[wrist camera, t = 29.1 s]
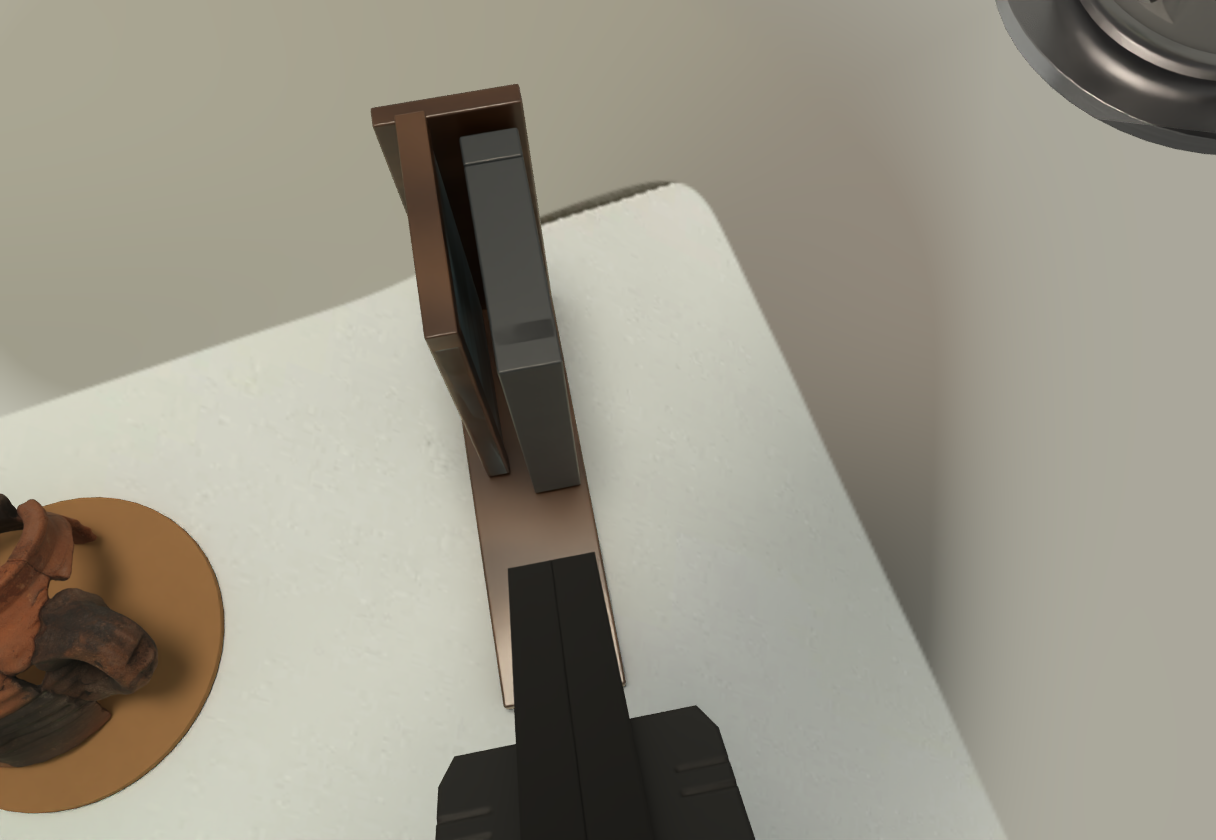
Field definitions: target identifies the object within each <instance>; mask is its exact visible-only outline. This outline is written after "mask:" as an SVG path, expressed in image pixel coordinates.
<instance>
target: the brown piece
mask: <svg viewBox="0 0 1216 840" xmlns="http://www.w3.org/2000/svg"><path fill="white" fill-rule="evenodd" d="M371 117H372V124H373V128H374V131H375V133H376V136H377V139H378V141H379V144H380V147H381V149H382V152H383V154H384V157H385V159H386V162H387V165H388V167H389V170H390V172H391V175H392V177H393V180H394V183H395V185H396V188H397V190H398V193H399V195H400V198H401V201H402V203H403V205H404V208H405V211H406V213H407V216H408V221H409V228H410V236H411V243H412V250H413V258H414V265H415V272H416V280H417V287H418V294H419V302H420V309H421V316H422V323H423V331H424V338H425V340H426V342H427V345H428V347H429V349H430V351H431V353H432V355H433V357H434V360H435V362H436V364H437V366H438V368H439V371H440V373H441V375H442V377H443V379H444V382H445V384H446V386H447V388H448V390H449V392H450V395H451V397H452V399H453V401H454V403H455V406H456V408H457V410H458V412H459V414H460V416H461V419H462V426H463V433H464V439H465V446H466V453H467V460H468V467H469V473H470V480H471V487H472V494H473V501H474V507H475V514H476V521H477V528H478V535H479V541H480V548H481V555H482V562H483V569H484V575H485V582H486V589H487V596H488V603H489V609H490V616H491V623H492V630H493V636H494V643H495V650H496V657H497V664H498V670H499V677H500V684H501V691H502V698H503V704H504V707H505V708H506V709H509V710H510V709H514V692H513V671H512V650H511V629H510V608H509V587H508V568H512V567H518V566H523V565H528V564H533V563H538V562H543V561H549V560H554V559H559V558H564V557H569V556H575V555H580V554H585V553H590V552H595V555H596V560H597V564H598V569H599V574H600V579H601V584H602V588H603V593H604V598H605V603H606V608H607V612H608V617H609V622H610V627H611V632H612V636H613V641H614V646H615V651H616V656H617V661H618V665H619V670H620V675H621V680H622V685H623V687H624V686H625V685H626V680H625V675H624V669H623V664H622V659H621V654H620V649H619V643H618V638H617V633H616V628H615V623H614V617H613V612H612V607H611V602H610V597H609V591H608V586H607V581H606V576H605V571H604V566H603V560H602V555H601V550H600V545H599V540H598V534H597V529H596V524H595V519H594V514H593V508H592V503H591V498H590V493H589V488H588V482H587V477H586V472H585V467H584V462H583V457H582V451H581V446H580V441H579V436H578V431H577V425H576V420H575V415H574V410H573V405H572V399H571V394H570V389H569V384H568V379H567V373H566V368H565V363H564V358H563V353H562V348H561V342H560V337H559V332H558V327H557V322H556V316H555V311H554V306H553V301H552V295H551V289H550V282H549V275H548V269H547V262H546V256H545V249H544V242H543V236H542V229H541V222H540V216H539V209H538V203H537V196H536V190H535V183H534V176H533V170H532V163H531V156H530V150H529V144H528V137H527V130H526V123H525V117H524V110H523V103H522V98H521V93H520V88H519V85H518V84H513V85H507V86H501V87H495V88H489V89H483V90H477V91H471V92H465V93H459V94H453V95H447V96H441V97H435V98H429V99H423V100H417V101H411V102H405V103H399V104H393V105H387V106H381V107H375V108H371ZM509 128H517V129H518V131H519V137H520V142H521V147H522V152H523V158H524V163H525V168H526V173H527V178H528V184H529V189H530V194H531V199H532V204H533V210H534V215H535V220H536V225H537V230H538V236H539V241H540V246H541V251H542V256H543V262H544V267H545V272H546V277H547V282H548V288H549V293H550V298H551V303H552V308H553V314H554V319H555V324H556V329H557V334H558V340H559V345H560V350H561V355H562V360H563V367H564V374H565V381H566V387H567V394H568V401H569V408H570V414H571V421H572V428H573V434H574V441H575V448H576V455H577V461H578V468H579V475H580V482H581V484H580V485H575V486H570V487H565V488H560V489H554V490H549V491H544V492H538V493H536V492H535V490H534V487H533V484H532V481H531V478H530V474H529V471H528V468H527V465H526V462H525V459H524V455H523V452H522V449H521V446H520V443H519V440H518V436H517V433H516V430H515V427H514V424H513V421H512V417H511V414H510V411H509V408H508V405H507V402H506V398H505V395H504V392H503V389H502V386H501V383H500V379H499V376H498V373H497V367H496V361H495V355H494V349H493V343H492V337H491V331H490V325H489V318H488V312H487V306H486V300H485V294H484V288H483V282H482V276H481V270H480V264H479V258H478V252H477V246H476V240H475V233H474V227H473V221H472V215H471V209H470V203H469V197H468V191H467V185H466V179H465V173H464V166H463V161H462V154H461V148H460V142H459V139H460V137H462V136H468V135H473V134H479V133H485V132H491V131H497V130H503V129H509Z"/></svg>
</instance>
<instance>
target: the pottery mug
mask: <svg viewBox="0 0 1216 840" xmlns="http://www.w3.org/2000/svg"><path fill="white" fill-rule="evenodd" d="M17 530H23V532H22V534H21V537H20V540H19V542H18V543H17V545H16V546H15V548H14V550H13V551H12V553H11V555H10V556H9V558H8V560H7V562H6V563H5V564H3V565H2V566H1V567H0V767H9V768H10V767H24V766H29V765H33V764H37V763H43V762H45V761H48V760H50V759H52V758H54V757H56V756H58V755H61V754H63V753H66V752H68V751H69V750H71V749H73V748H75V747H77V746H78V745H80V744H81V743H82V742H84V741H85V740H86V739H87V738H88V737H89V736H91V735H92V734H94V733H95V732H96V731H97V730H98V729H99V728H100V727H101V726H103V725H104V724H105V723H106V722H107V721H108V720H109V719H110V717H111V713H110V712H109V711H108V710H107V709H105V708H103V707H102V706H101V704H100V703H98V702H97V701H99V700H102V699H106V698H108V697H110V696H111V695H117V694H123V695H128V694H132V693H134V692H136V691H137V690H138V689H140V688H142V687H143V686H145V685H147V684H148V683H149V681H150V680H151V678H152V675H153V673H154V671H155V669H156V668H157V666H158V649H157V646H156V644H155V642H154V640H153V639H152V638H151V636H150V635H149V634H148V633H147V632H146V631H145V630H144V629H143V628H142V627H141V626H140V625H138V624H137V623H136V622H134V621H133V620H131V619H130V618H128V617H126V616H124V615H122V614H120V613H118V612H115V611H113V610H111V609H110V608H109V607H108V606H107V605H106V604H105V602H104V600H103V599H102V598H101V597H100V596H99V595H97V594H93V593H89V592H86V591H83V590H81V589H78V588H66V589H63V590H61V591H60V592H58V593H56V594H55V595H54V596H53V597H52V598H51V599H50V598H49V596H48V588H49V583H50V581H51V580H55V581H66V580H68V579H69V578H70V576H71V573H72V564H73V553H74V544H85V543H88V542H93V541H95V540H96V539H97V536H96V535H95V534H93V532H92V530H91V528H90V527H87V526H84V525H82V524H81V523H80V522H79V521H78V520H76V519H74V518H68V517H66V516H63V515H59V514H55V513H52V512H46V510H45V509H44V508H43V507H42V506H41V504H40V503H38V502H37V501H36V500H34V499H30V500H28V501H27V502H25V503H23V504H21V505H19V506H18V508H17V509H16V508H15V507H14V506H13V505H12V504H11V502H10V500H9V499H8V498H7V497H6V496H5V495H3V494H0V534H1V533H5V532H10V531H17ZM32 665H35V666H36V668H38V669H39V670H42V671H46V673H45V677H44V679H43V681H42V684H40V685H35V684H33V683H30V682H27V681H25V680H22V679H19V678H17V677H16V675H17V674H19V673H22V672H24V671H26V670H28V669H29V668H30V667H31V666H32Z"/></svg>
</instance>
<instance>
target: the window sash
mask: <svg viewBox="0 0 1216 840" xmlns="http://www.w3.org/2000/svg"><path fill="white" fill-rule="evenodd" d="M459 142H460V148H461V154H462V161H463V166H464V173H465V179H466V185H467V191H468V197H469V203H470V209H471V215H472V221H473V227H474V233H475V240H476V246H477V252H478V258H479V264H480V270H481V276H482V282H483V288H484V294H485V300H486V306H487V312H488V318H489V325H490V331H491V337H492V343H493V349H494V355H495V361H496V367H497V373H498V376H499V379H500V383H501V386H502V389H503V392H504V395H505V398H506V402H507V405H508V408H509V411H510V414H511V417H512V421H513V424H514V427H515V430H516V433H517V436H518V440H519V443H520V446H521V449H522V452H523V455H524V459H525V462H526V465H527V468H528V471H529V474H530V478H531V481H532V484H533V487H534V490H535V492H536V493H538V492H544V491H549V490H554V489H560V488H565V487H570V486H575V485H580V484H581V482H580V475H579V468H578V461H577V455H576V448H575V441H574V434H573V428H572V421H571V414H570V408H569V401H568V394H567V387H566V381H565V374H564V367H563V360H562V355H561V350H560V345H559V340H558V334H557V329H556V324H555V319H554V314H553V308H552V303H551V298H550V293H549V288H548V282H547V277H546V272H545V267H544V262H543V256H542V251H541V246H540V241H539V236H538V230H537V225H536V220H535V215H534V210H533V204H532V199H531V194H530V189H529V184H528V178H527V173H526V168H525V163H524V158H523V152H522V147H521V142H520V137H519V131H518V129H517V128H509V129H503V130H497V131H491V132H485V133H479V134H473V135H468V136H462V137H460V139H459Z"/></svg>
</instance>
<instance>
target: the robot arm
mask: <svg viewBox="0 0 1216 840" xmlns="http://www.w3.org/2000/svg"><path fill="white" fill-rule="evenodd" d="M1080 1H1081V3H1082V5H1083V6H1084V8H1085V10H1086V11H1087V12H1088V14H1089V15H1090V16H1091V18H1092V19H1093V20H1094V21H1095V22H1096V23H1097V24H1098V25H1099V27H1100V28H1101V29H1102V30H1103V31H1105V32H1106V33H1107V34H1108V35H1109V36H1110V37H1111V38H1112V39H1114V40H1115V41H1116V42H1117V43H1119V44H1120V45H1121V46H1123V47H1124V48H1126V49H1127V50H1129V51H1130V52H1132V53H1134V54H1135V55H1137V56H1139V57H1141V58H1142V59H1144V60H1146V61H1148V62H1151V63H1153V64H1155V65H1157V66H1159V67H1162V68H1165V69H1167V70H1170V71H1173V72H1176V73H1179V74H1183V75H1186V76H1191V77H1195V78H1200V79H1207V80H1213V81H1216V0H1080ZM508 587H509V608H510V629H511V650H512V671H513V692H514V712H515V733H516V744H514V745H509V746H504V747H499V748H494V749H489V750H484V751H479V752H475V753H470V754H465V755H460V756H455V757H454V758H453V760H452V762H451V764H450V766H449V768H448V770H447V772H446V773H445V775H444V777H443V779H442V781H441V783H440V785H439V787H438V803H437V825H436V840H755V837H754V834H753V831H752V828H751V825H750V822H749V819H748V816H747V813H746V810H745V807H744V804H743V801H742V797H741V794H740V791H739V788H738V786H737V784H736V779H735V776H734V773H733V770H732V767H731V764H730V762H729V759H728V755H727V752H726V749H725V746H724V743H723V740H722V736H721V733H720V730H719V727H718V726H717V725H716V724H715V723H714V722H713V721H712V720H711V719H710V718H709V717H708V716H707V715H706V714H705V713H704V712H703V711H702V710H701V709H699V708H698V707H697V706H696V705H695V706H690V707H685V708H680V709H675V710H670V711H665V712H660V713H656V714H651V715H646V716H641V717H636V718H631V719H630V718H629V713H628V709H627V704H626V699H625V694H624V689H623V685H622V680H621V675H620V670H619V665H618V661H617V656H616V651H615V646H614V641H613V636H612V632H611V627H610V622H609V617H608V612H607V608H606V603H605V598H604V593H603V588H602V584H601V579H600V574H599V569H598V564H597V560H596V555H595V552H590V553H585V554H580V555H575V556H569V557H564V558H559V559H554V560H549V561H543V562H538V563H533V564H528V565H523V566H518V567H512V568H508Z"/></svg>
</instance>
